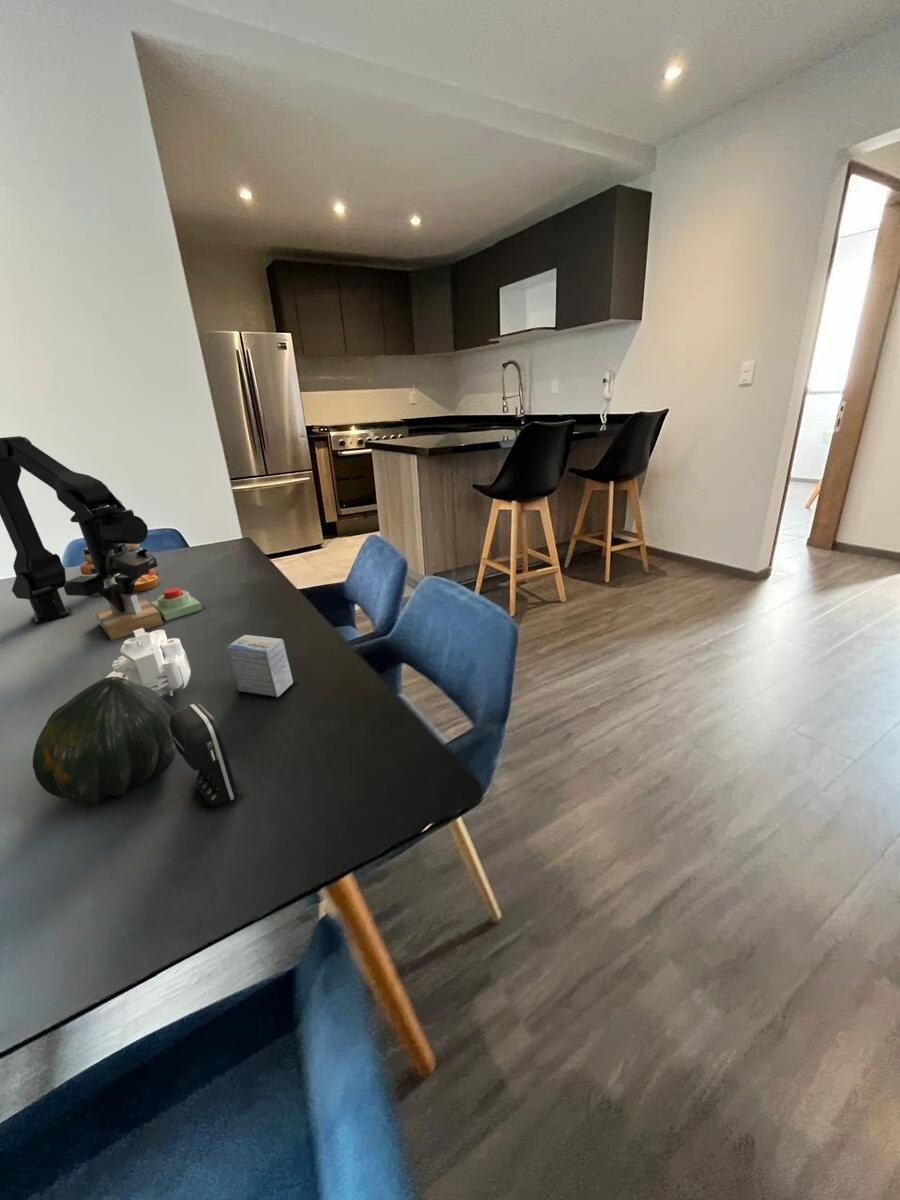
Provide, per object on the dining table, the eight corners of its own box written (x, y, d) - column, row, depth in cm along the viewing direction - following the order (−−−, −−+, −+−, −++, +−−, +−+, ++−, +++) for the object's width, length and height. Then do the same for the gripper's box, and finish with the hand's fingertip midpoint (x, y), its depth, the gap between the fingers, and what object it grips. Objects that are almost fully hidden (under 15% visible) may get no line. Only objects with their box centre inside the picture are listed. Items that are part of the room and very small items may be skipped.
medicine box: (294, 684, 83) (284, 638, 79) (277, 698, 79) (266, 651, 75) (255, 678, 85) (244, 633, 82) (237, 692, 81) (225, 646, 78)
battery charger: (187, 787, 61) (161, 711, 57) (218, 770, 64) (195, 696, 59) (208, 816, 57) (181, 736, 52) (241, 798, 59) (217, 719, 55)
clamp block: (98, 625, 111) (93, 612, 110) (150, 609, 118) (146, 597, 117) (109, 640, 103) (104, 627, 102) (164, 623, 110) (160, 610, 108)
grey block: (111, 612, 109) (105, 595, 108) (117, 610, 111) (111, 592, 109) (136, 613, 108) (130, 596, 106) (142, 611, 109) (136, 593, 108)
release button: (163, 597, 116) (161, 590, 115) (179, 593, 118) (177, 586, 118) (167, 601, 114) (165, 594, 113) (184, 596, 116) (182, 589, 115)
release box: (152, 608, 118) (148, 595, 117) (187, 598, 123) (183, 585, 122) (166, 620, 111) (161, 606, 110) (202, 609, 116) (198, 595, 115)
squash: (-3, 764, 59) (14, 697, 52) (116, 699, 72) (143, 639, 65) (79, 847, 59) (107, 792, 51) (184, 767, 72) (219, 714, 64)
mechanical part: (120, 692, 83) (96, 630, 79) (197, 674, 88) (179, 614, 83) (106, 729, 74) (79, 660, 69) (194, 707, 78) (173, 641, 73)
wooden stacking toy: (146, 593, 128) (131, 547, 124) (82, 597, 129) (65, 551, 124) (181, 570, 145) (169, 529, 140) (125, 573, 146) (111, 533, 141)
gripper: (95, 556, 93) (122, 630, 99) (167, 530, 110) (186, 595, 116) (49, 555, 95) (77, 628, 101) (126, 530, 112) (146, 593, 118)
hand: (126, 610), depth 109 cm, fingers closed on grey block, 2 cm apart
